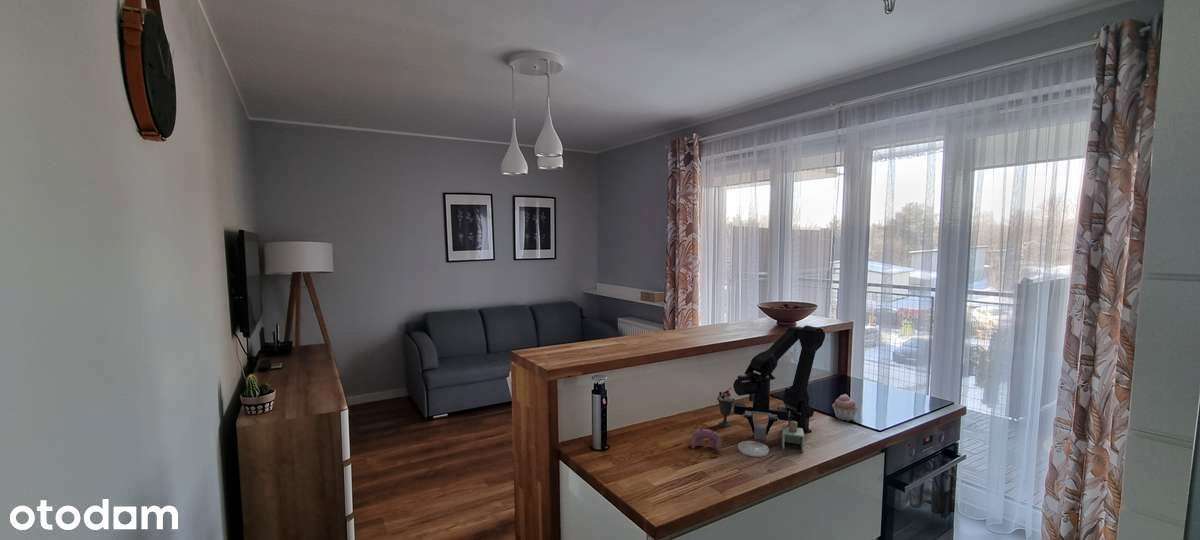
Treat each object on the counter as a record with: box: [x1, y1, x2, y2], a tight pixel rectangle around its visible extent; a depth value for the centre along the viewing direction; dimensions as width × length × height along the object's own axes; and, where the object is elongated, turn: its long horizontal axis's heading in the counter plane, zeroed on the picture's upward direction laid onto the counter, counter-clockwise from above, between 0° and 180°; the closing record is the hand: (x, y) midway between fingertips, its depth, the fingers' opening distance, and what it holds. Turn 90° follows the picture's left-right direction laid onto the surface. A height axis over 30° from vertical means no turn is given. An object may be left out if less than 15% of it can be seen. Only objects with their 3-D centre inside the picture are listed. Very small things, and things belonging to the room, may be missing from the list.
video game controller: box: [690, 428, 722, 453], centre depth 162 cm, size 10×5×7 cm, turn 72°
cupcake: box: [831, 393, 859, 422], centre depth 188 cm, size 9×9×10 cm
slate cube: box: [753, 423, 767, 441], centre depth 170 cm, size 4×4×4 cm
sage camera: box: [781, 421, 805, 452], centre depth 163 cm, size 7×7×8 cm
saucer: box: [737, 440, 770, 458], centre depth 160 cm, size 10×10×1 cm
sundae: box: [716, 387, 736, 428], centre depth 181 cm, size 7×7×15 cm
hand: (760, 434), depth 170 cm, fingers closed on slate cube, 4 cm apart
